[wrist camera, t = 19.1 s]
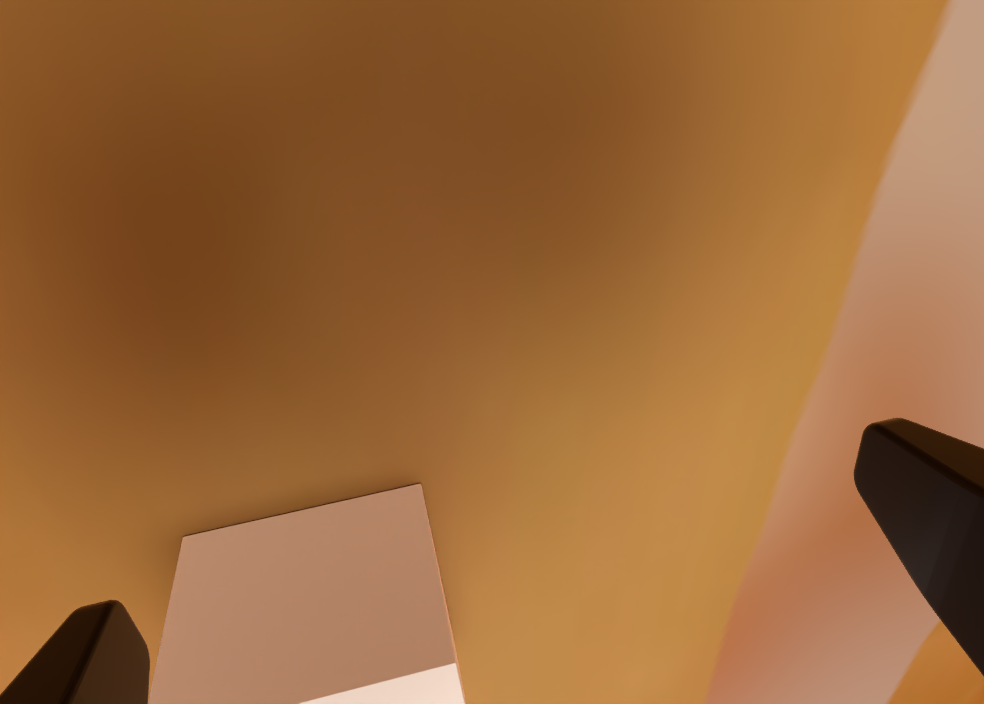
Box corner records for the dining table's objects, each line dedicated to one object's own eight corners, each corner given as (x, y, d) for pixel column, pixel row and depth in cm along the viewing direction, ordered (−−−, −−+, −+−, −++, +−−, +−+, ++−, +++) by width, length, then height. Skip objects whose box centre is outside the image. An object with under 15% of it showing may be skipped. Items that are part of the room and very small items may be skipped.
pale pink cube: (420, 483, 23) (455, 662, 18) (451, 628, 28) (487, 812, 22) (183, 536, 22) (139, 744, 17) (251, 679, 27) (235, 884, 21)
